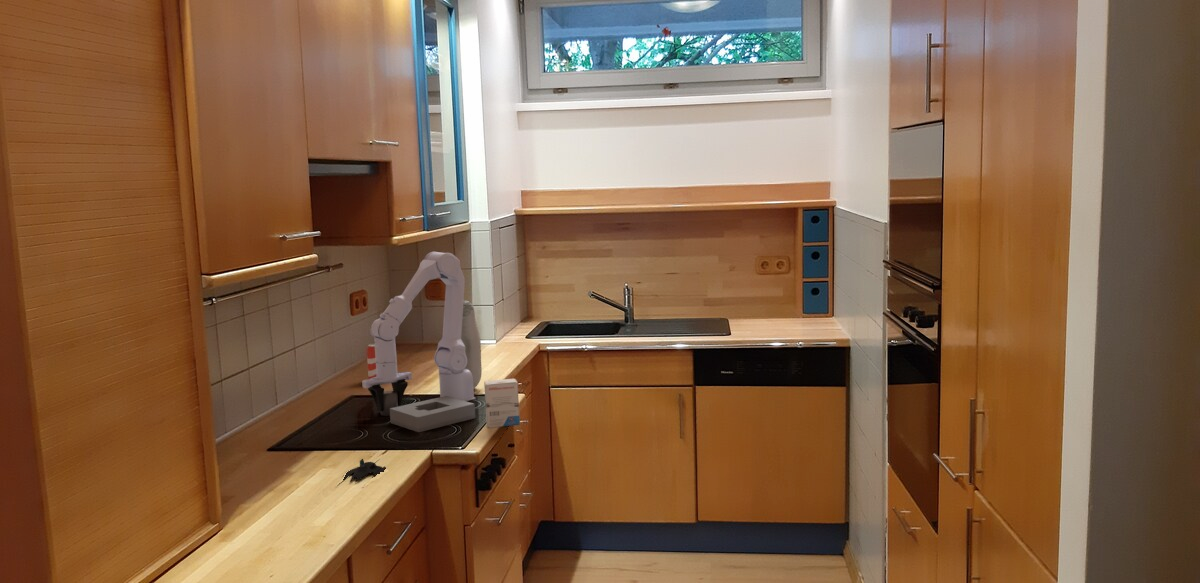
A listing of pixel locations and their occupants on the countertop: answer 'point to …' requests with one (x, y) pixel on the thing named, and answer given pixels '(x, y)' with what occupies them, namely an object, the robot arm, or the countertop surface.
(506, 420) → the ink box
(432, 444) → the countertop surface
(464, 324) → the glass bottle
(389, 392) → the dark grey rounded piece
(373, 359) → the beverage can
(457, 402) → the foam packaging insert
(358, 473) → the angular spaceship
